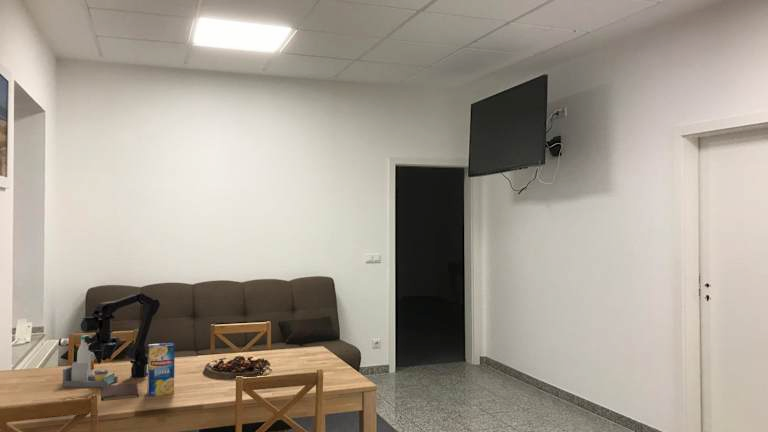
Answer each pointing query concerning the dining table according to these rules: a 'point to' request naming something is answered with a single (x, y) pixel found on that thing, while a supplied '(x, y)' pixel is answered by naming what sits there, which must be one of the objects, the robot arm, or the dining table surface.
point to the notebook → (119, 391)
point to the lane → (89, 383)
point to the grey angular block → (79, 372)
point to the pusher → (109, 378)
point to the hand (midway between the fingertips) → (104, 361)
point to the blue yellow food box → (160, 369)
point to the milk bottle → (86, 356)
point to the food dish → (235, 368)
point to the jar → (100, 375)
